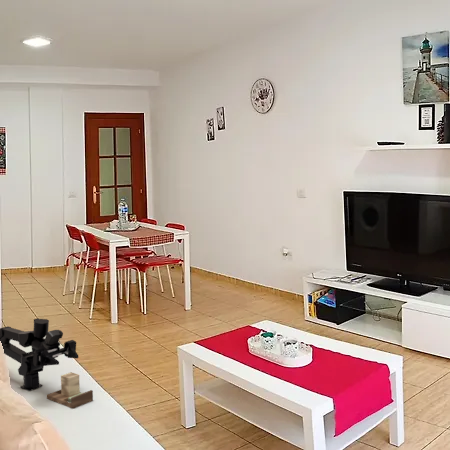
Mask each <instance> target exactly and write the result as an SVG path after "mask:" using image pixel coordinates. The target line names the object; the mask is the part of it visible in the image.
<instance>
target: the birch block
mask: <svg viewBox="0 0 450 450" xmlns="http://www.w3.org/2000/svg"><path fill="white" fill-rule="evenodd" d="M60 384H61V385H60V390H61V394H63V395H66V396H68V397H70V396H73V395H76V394H78V393H80V389H81V388H80V374H79V373H75V372H71V371H70V372H68V373H65V374H61V375H60Z"/></svg>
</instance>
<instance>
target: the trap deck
mask: <svg viewBox="0 0 450 450" xmlns="http://www.w3.org/2000/svg"><path fill="white" fill-rule="evenodd" d="M93 393H94V391H93V390H92V389H91V390H88V391H85V392H80V393H78V394H76V395H73V396H70V397H68V396H66V395H63V394H61V389H59V390H56V391H53V392H51V393H48V394H46V399H48V400H49V401H53V402H55V403H58V404H60V405H63V406H65V407H68V408H70V409H77V408H78V407H80V406H83V405H86V404H88V403H90V402H93V401H94V394H93Z"/></svg>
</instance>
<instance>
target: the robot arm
mask: <svg viewBox="0 0 450 450" xmlns="http://www.w3.org/2000/svg"><path fill="white" fill-rule="evenodd" d="M49 323H50V320H49V319H47V318H34V319H33V330H27V331H25V330H20V329H18V328H13V327H11V326H8V325H7V326H4V327H0V341H1V343H2V346H3V349H4V353H3V354H4V355H6V356H8V357H9V358H11V359H12V360H14V361H15V362H17V363H19V364H20V366H19V368H18V369H17V371H18V375H20V376H22V377H23V385H20V388H21V389H24V390H26V391H34V390H35V389H39V388H42V387H43V384H40V375H39V373H40V372H43V371H44V367H45V366H46V367H47V366H57V365H60V361H59V360H58V359H56V358H58V357H59V356H62V355H64V357H66V358H68V359H79V354H78V352H77V350H76V349H77V341H76V340H74V339H71V340H67V341H64V344H63V347H62V348H60V346H61V342H60V339H63V335H64V332H63V331H62V330H60V329H54V330H49V327H50V326H49V325H50V324H49ZM11 340H12V341H15V342H17V343H18V344H19V346H21V347H22V348H25V349H26V348H28V347H31V351H28V352H27V351H24V350H23V349H21V348H20V347H17V346H16V345H14V344H12V343H11Z"/></svg>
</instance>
